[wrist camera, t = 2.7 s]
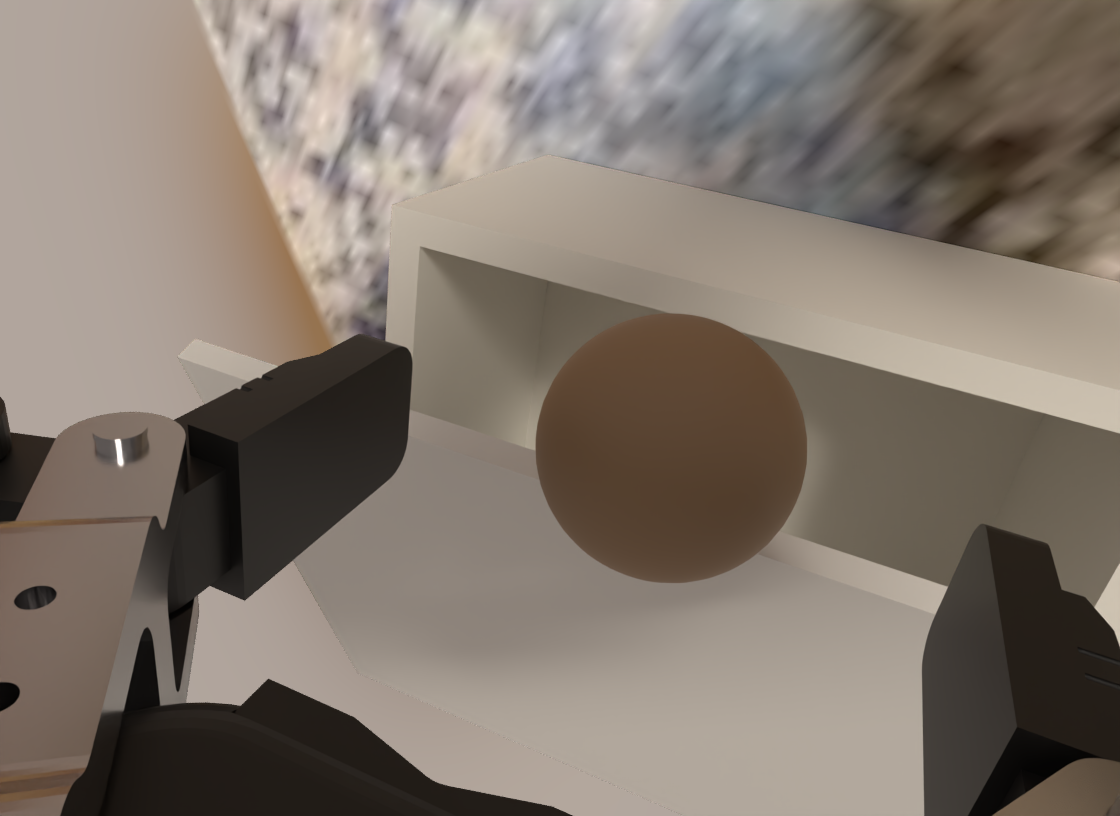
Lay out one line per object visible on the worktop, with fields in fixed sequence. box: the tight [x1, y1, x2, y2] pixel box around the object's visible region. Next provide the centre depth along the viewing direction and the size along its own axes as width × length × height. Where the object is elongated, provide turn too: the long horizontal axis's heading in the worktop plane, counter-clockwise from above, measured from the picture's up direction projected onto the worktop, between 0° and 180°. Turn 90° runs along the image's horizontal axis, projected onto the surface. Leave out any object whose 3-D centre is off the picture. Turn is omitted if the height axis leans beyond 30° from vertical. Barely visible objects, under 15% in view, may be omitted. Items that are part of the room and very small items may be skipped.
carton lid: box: [178, 313, 1120, 816], centre depth 20 cm, size 23×22×4 cm
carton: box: [385, 155, 1120, 643], centre depth 30 cm, size 18×22×12 cm
